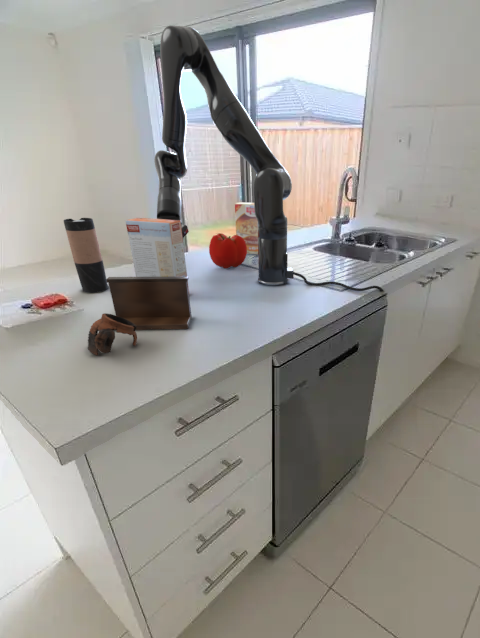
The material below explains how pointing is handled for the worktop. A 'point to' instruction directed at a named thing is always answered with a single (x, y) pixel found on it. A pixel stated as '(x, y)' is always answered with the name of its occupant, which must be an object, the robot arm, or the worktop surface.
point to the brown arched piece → (108, 332)
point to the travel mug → (86, 254)
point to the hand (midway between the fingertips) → (167, 253)
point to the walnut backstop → (152, 301)
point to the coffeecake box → (247, 225)
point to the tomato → (227, 250)
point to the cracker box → (156, 247)
